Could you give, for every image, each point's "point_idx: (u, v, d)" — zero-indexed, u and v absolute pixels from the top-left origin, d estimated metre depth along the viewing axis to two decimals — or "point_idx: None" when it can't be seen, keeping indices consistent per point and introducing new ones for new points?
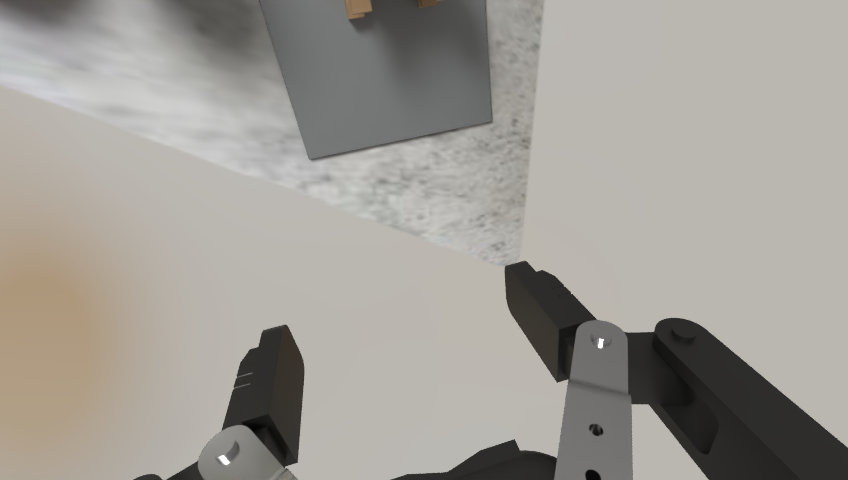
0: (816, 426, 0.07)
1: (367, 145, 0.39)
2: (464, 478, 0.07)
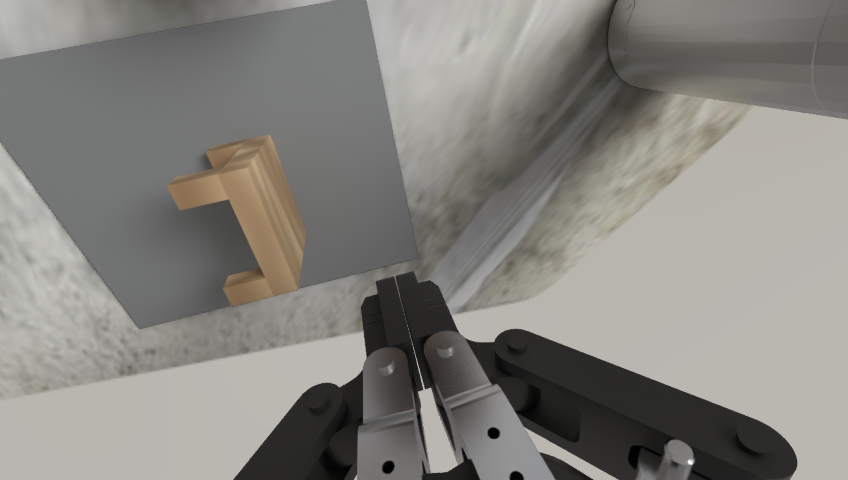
0: (634, 375, 0.08)
1: (26, 172, 0.24)
2: (463, 478, 0.07)
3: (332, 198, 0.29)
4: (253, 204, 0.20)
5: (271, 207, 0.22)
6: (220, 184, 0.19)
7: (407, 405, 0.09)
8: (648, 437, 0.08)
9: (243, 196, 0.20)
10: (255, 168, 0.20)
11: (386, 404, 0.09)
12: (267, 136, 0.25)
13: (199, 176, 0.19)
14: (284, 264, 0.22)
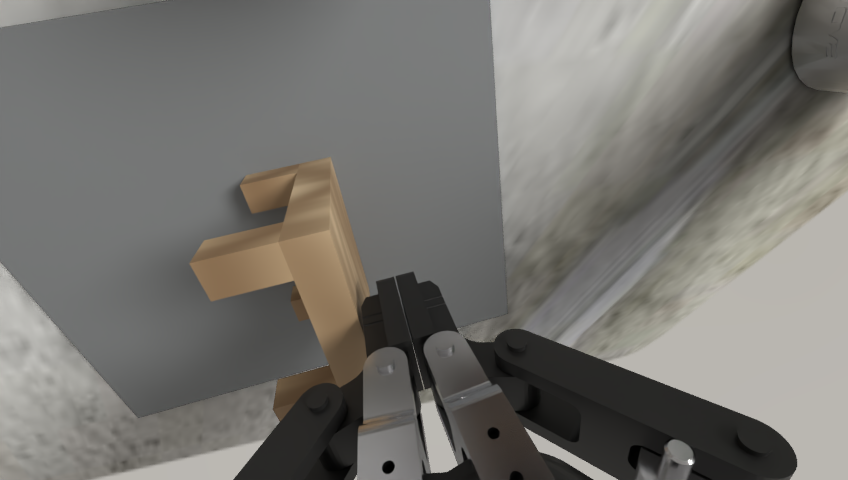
0: (634, 375, 0.08)
1: None
2: (463, 478, 0.07)
3: (408, 242, 0.21)
4: (332, 287, 0.12)
5: (351, 280, 0.14)
6: (282, 257, 0.11)
7: (407, 405, 0.09)
8: (648, 437, 0.08)
9: (319, 275, 0.12)
10: (333, 223, 0.12)
11: (386, 405, 0.09)
12: (328, 160, 0.17)
13: (245, 243, 0.11)
14: None
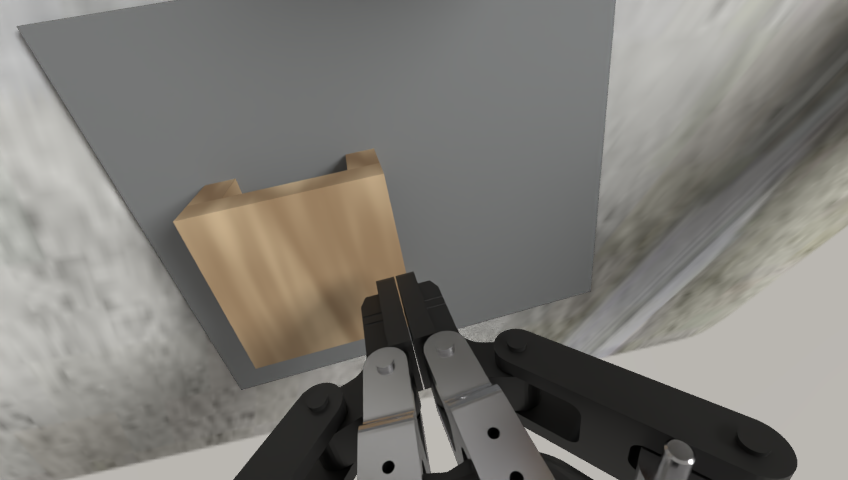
0: (634, 375, 0.08)
1: (119, 185, 0.16)
2: (464, 478, 0.07)
3: (510, 217, 0.22)
4: None
5: (244, 274, 0.15)
6: None
7: (407, 405, 0.09)
8: (648, 437, 0.08)
9: None
10: (217, 223, 0.14)
11: (386, 404, 0.09)
12: (369, 176, 0.15)
13: (205, 195, 0.16)
14: (239, 336, 0.17)
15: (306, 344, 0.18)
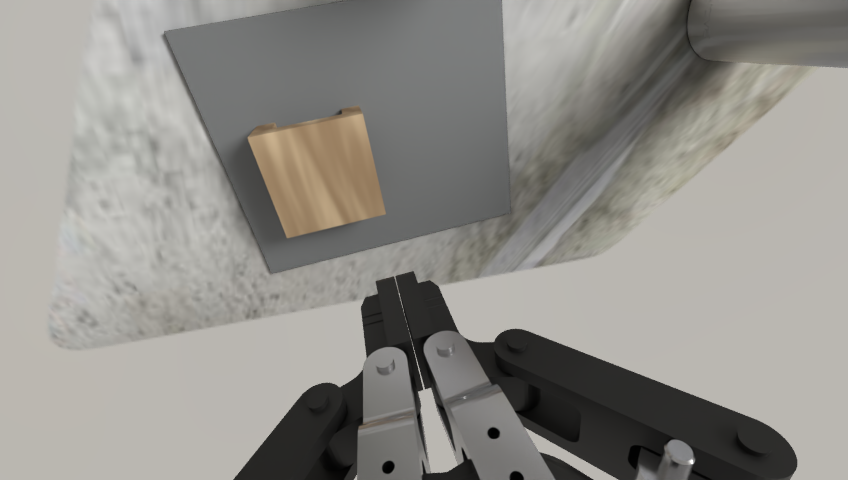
0: (634, 375, 0.08)
1: (207, 124, 0.28)
2: (463, 478, 0.07)
3: (448, 154, 0.33)
4: None
5: (283, 173, 0.27)
6: None
7: (407, 405, 0.09)
8: (648, 437, 0.08)
9: None
10: (270, 140, 0.26)
11: (386, 404, 0.09)
12: (354, 115, 0.26)
13: (259, 129, 0.27)
14: (278, 215, 0.28)
15: (318, 223, 0.29)
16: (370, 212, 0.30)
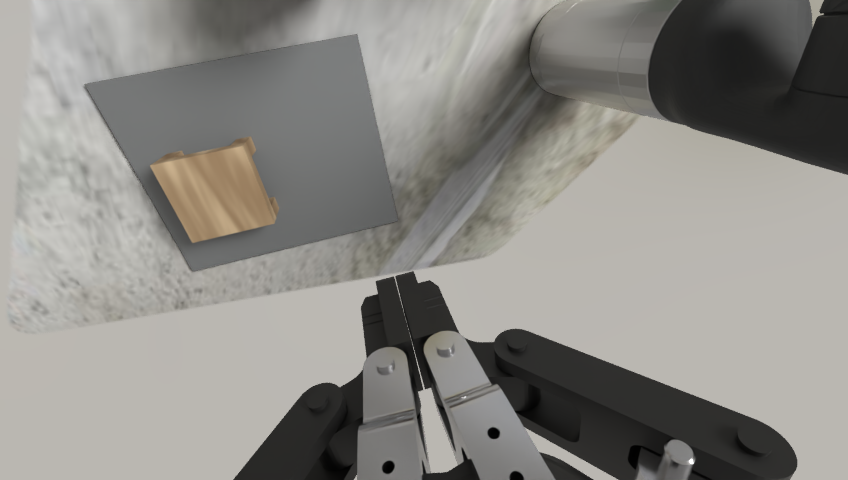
0: (634, 375, 0.08)
1: (126, 153, 0.35)
2: (463, 478, 0.07)
3: (334, 174, 0.40)
4: None
5: (183, 192, 0.34)
6: None
7: (407, 405, 0.09)
8: (648, 437, 0.08)
9: None
10: (169, 167, 0.33)
11: (386, 404, 0.09)
12: (236, 147, 0.33)
13: (166, 157, 0.35)
14: (183, 224, 0.36)
15: (217, 231, 0.36)
16: (260, 222, 0.37)
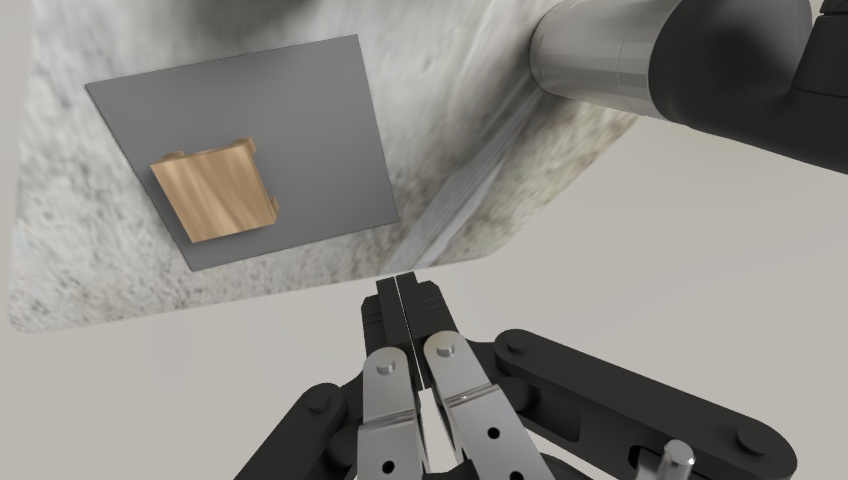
0: (634, 375, 0.08)
1: (126, 153, 0.35)
2: (463, 478, 0.07)
3: (334, 174, 0.40)
4: None
5: (183, 192, 0.34)
6: None
7: (407, 405, 0.09)
8: (648, 437, 0.08)
9: None
10: (169, 167, 0.33)
11: (385, 404, 0.09)
12: (236, 147, 0.33)
13: (166, 157, 0.35)
14: (183, 224, 0.36)
15: (217, 231, 0.36)
16: (260, 222, 0.37)
